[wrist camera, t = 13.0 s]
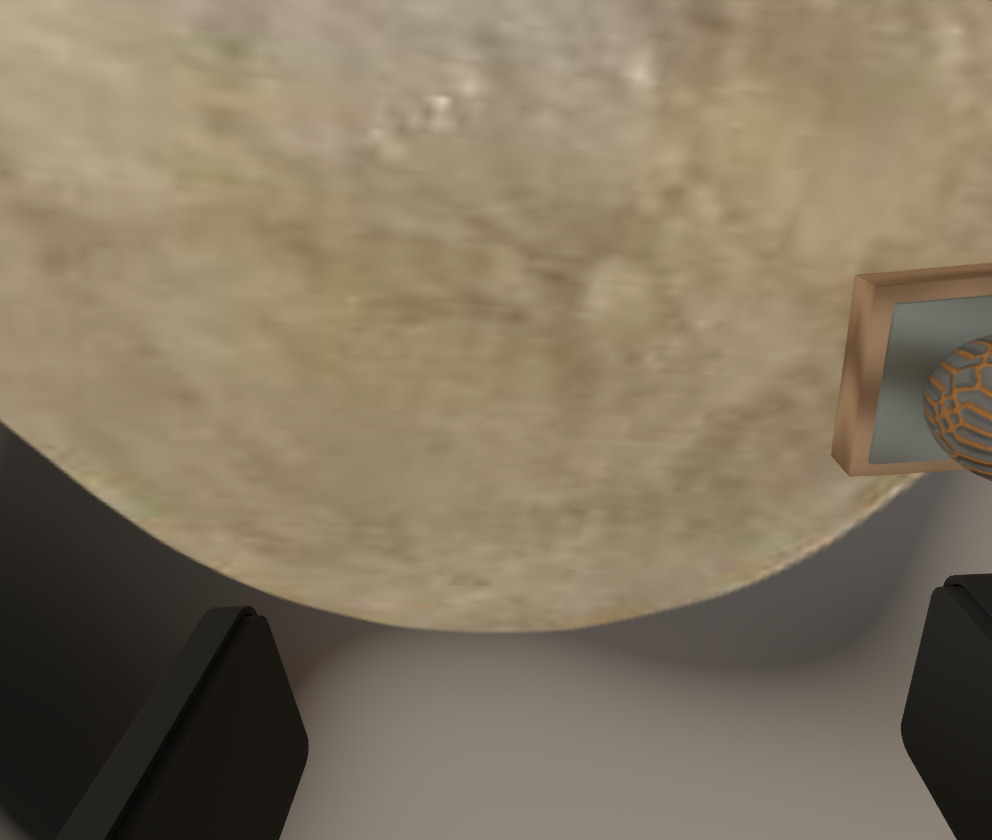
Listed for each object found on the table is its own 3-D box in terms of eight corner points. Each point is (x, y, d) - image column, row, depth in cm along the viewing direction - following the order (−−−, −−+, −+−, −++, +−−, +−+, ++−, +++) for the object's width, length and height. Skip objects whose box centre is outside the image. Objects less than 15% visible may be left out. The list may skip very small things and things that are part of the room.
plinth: (855, 275, 34) (880, 288, 32) (1079, 255, 33) (1124, 267, 30) (831, 455, 39) (851, 479, 36) (1026, 443, 38) (1061, 467, 35)
